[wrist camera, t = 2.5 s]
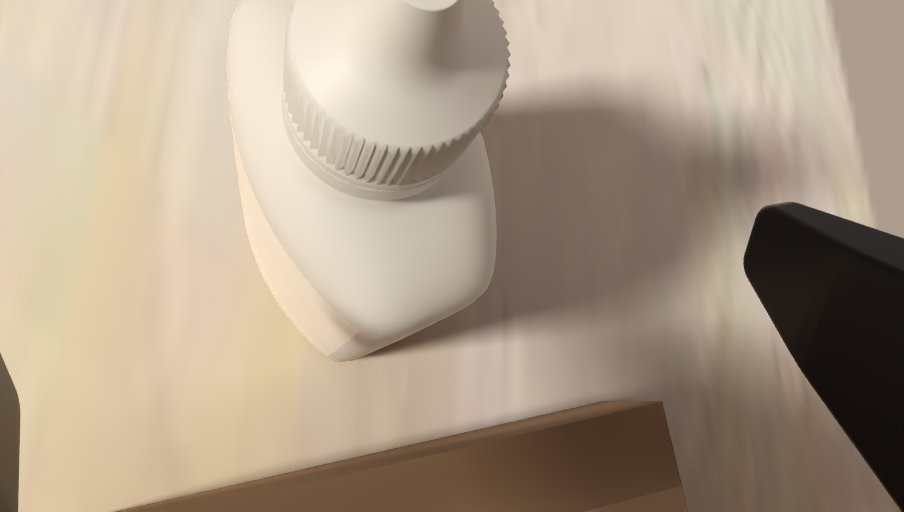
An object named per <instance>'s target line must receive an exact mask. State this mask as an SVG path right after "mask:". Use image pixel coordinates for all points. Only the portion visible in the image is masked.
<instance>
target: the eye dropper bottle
mask: <svg viewBox="0 0 904 512" xmlns="http://www.w3.org/2000/svg"><path fill="white" fill-rule="evenodd" d="M498 15H499V11H498V10H497V9H496V8H495V7H494V2H493V1H492V0H241V1H240V2H239V4H238V6H237V8H236V10H235V12H234V14H233V16H232V18H231V24H230V31H229V37H228V46H227V85H228V96H229V106H230V116H231V124H232V133H233V141H234V149H235V157H236V164H237V172H238V180H239V187H240V195H241V202H242V210H243V215H244V221H245V226H246V230H247V234H248V238H249V241H250V245H251V248H252V251H253V254H254V257H255V259H256V262H257V265H258V267H259V269H260V271H261V274H262V276H263V278H264V280H265V282H266V284H267V286H268V288H269V290H270V291H271V293H272V295H273V296H274V298H275V300H276V301H277V303H278V304H279V306H280V307H281V309H282V310H283V312H284V313H285V315H286V316H287V317H288V318H289V320H290V321H291V322H292V323H293V325H294V326H295V327H296V328H297V329H298V331H299V332H300V333H301V334H302V335H303V336H304V337H305V338H306V339H307V340H308V341H309V342H310V343H311V344H312V345H313V346H314V347H315V348H316V349H317V350H318V351H319V352H321V353H322V354H323V355H324V356H325V357H327V358H330V359H332V360H334V361H337V362H343V361H352V360H355V359H357V358H360V357H362V356H365V355H367V354H369V353H372V352H374V351H376V350H379V349H381V348H383V347H385V346H388V345H390V344H392V343H394V342H397V341H399V340H401V339H403V338H405V337H407V336H409V335H412V334H414V333H416V332H418V331H420V330H422V329H424V328H426V327H428V326H430V325H432V324H434V323H436V322H439V321H441V320H443V319H445V318H447V317H449V316H451V315H453V314H455V313H457V312H459V311H460V310H462V309H464V308H466V307H467V306H469V305H471V304H472V303H473V302H474V301H476V300H477V299H478V298H479V297H480V296H481V295H482V294H483V293H484V292H485V291H486V290H487V289H488V287H489V284H490V282H491V279H492V276H493V273H494V271H495V260H496V248H497V223H496V208H495V197H494V188H493V181H492V175H491V170H490V165H489V160H488V156H487V152H486V148H485V144H484V140H483V137H482V134H481V130H482V128H483V127H484V126H485V125H486V123H487V122H488V121H489V119H490V118H491V117H492V116H493V113H494V111H495V110H496V109H497V108H498V106H499V104H498V103H499V101H500V100H501V99H502V98H503V91H504V90H505V88H506V87H507V85H506V80H507V78H508V77H509V74H508V71H507V69H508V68H509V67H510V63H509V61H508V57H509V56H510V53H509V50H508V48H507V47H508V45H509V42H508V40H507V39H506V37H505V36H506V34H507V32H506V31H505V29H504V28H503V26H502V25H503V23H504V22H503V21H502V19H501V18H500V17H499V16H498Z"/></svg>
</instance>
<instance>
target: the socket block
mask: <svg viewBox="0 0 904 512" xmlns="http://www.w3.org/2000/svg"><path fill="white" fill-rule="evenodd" d="M118 512H688V511H687V507H686V502H685V498H684V494H683V489H682V485H681V481H680V477H679V472H678V468H677V464H676V459H675V455H674V451H673V447H672V442H671V438H670V434H669V430H668V425H667V421H666V417H665V412H664V408H663V404H662V402H599V403H594V404H590V405H585V406H581V407H577V408H572V409H568V410H563V411H559V412H555V413H550V414H546V415H541V416H537V417H533V418H528V419H524V420H519V421H515V422H510V423H506V424H502V425H497V426H493V427H488V428H484V429H480V430H475V431H471V432H466V433H462V434H458V435H453V436H449V437H444V438H440V439H436V440H431V441H427V442H422V443H418V444H413V445H409V446H405V447H400V448H396V449H391V450H387V451H383V452H378V453H374V454H369V455H365V456H361V457H356V458H352V459H347V460H343V461H338V462H334V463H330V464H325V465H321V466H316V467H312V468H308V469H303V470H299V471H294V472H290V473H286V474H281V475H277V476H272V477H268V478H264V479H259V480H255V481H250V482H246V483H241V484H237V485H233V486H228V487H224V488H219V489H215V490H211V491H206V492H202V493H197V494H193V495H189V496H184V497H180V498H175V499H171V500H166V501H162V502H158V503H153V504H149V505H144V506H140V507H136V508H131V509H127V510H122V511H118Z"/></svg>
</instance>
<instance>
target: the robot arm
mask: <svg viewBox="0 0 904 512" xmlns="http://www.w3.org/2000/svg"><path fill="white" fill-rule="evenodd" d="M743 264H744V270H745V273H746V276H747V278H748V280H749V282H750V283H751V285H752V287H753V289H754V290H755V292H756V294H757V295H758V297H759V299H760V301H761V302H762V304H763V306H764V308H765V309H766V311H767V313H768V315H769V316H770V318H771V320H772V322H773V323H774V325H775V327H776V329H777V330H778V332H779V334H780V336H781V337H782V339H783V341H784V343H785V344H786V346H787V348H788V350H789V351H790V353H791V355H792V356H793V358H794V360H795V361H796V363H797V365H798V366H799V368H800V369H801V371H802V372H803V374H804V375H805V377H806V378H807V380H808V381H809V383H810V384H811V386H812V387H813V388H814V390H815V391H816V392H817V394H818V395H819V397H820V398H821V399H822V401H823V402H824V404H825V405H826V406H827V408H828V409H829V411H830V412H831V413H832V415H833V416H834V418H835V419H836V420H837V422H838V423H839V425H840V426H841V427H842V429H843V430H844V432H845V433H846V434H847V436H848V437H849V439H850V440H851V441H852V443H853V444H854V446H855V447H856V448H857V450H858V451H859V453H860V454H861V455H862V457H863V458H864V460H865V461H866V462H867V464H868V465H869V467H870V468H871V469H872V471H873V472H874V474H875V475H876V476H877V478H878V479H879V481H880V482H881V483H882V485H883V486H884V488H885V489H886V490H887V492H888V493H889V495H890V496H891V497H892V499H893V500H894V502H895V503H896V504H897V506H898V507H899V509H900V510H901V511H902V512H904V238H901V237H898V236H894V235H892V234H889V233H886V232H882V231H879V230H877V229H874V228H871V227H868V226H865V225H862V224H859V223H856V222H853V221H850V220H847V219H844V218H841V217H838V216H835V215H832V214H829V213H826V212H823V211H820V210H817V209H814V208H811V207H808V206H805V205H802V204H799V203H795V202H785V203H779V204H773V205H767V206H765V207H763V208H762V209H761V210H760V211H759V212H758V214H757V216H756V219H755V222H754V225H753V228H752V232H751V235H750V238H749V241H748V245H747V248H746V251H745V254H744V262H743ZM19 447H20V404H19V398H18V394H17V391H16V388H15V386H14V384H13V381H12V379H11V377H10V375H9V372H8V370H7V368H6V365H5V363H4V361H3V358H2V356H1V354H0V512H18V490H19Z"/></svg>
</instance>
